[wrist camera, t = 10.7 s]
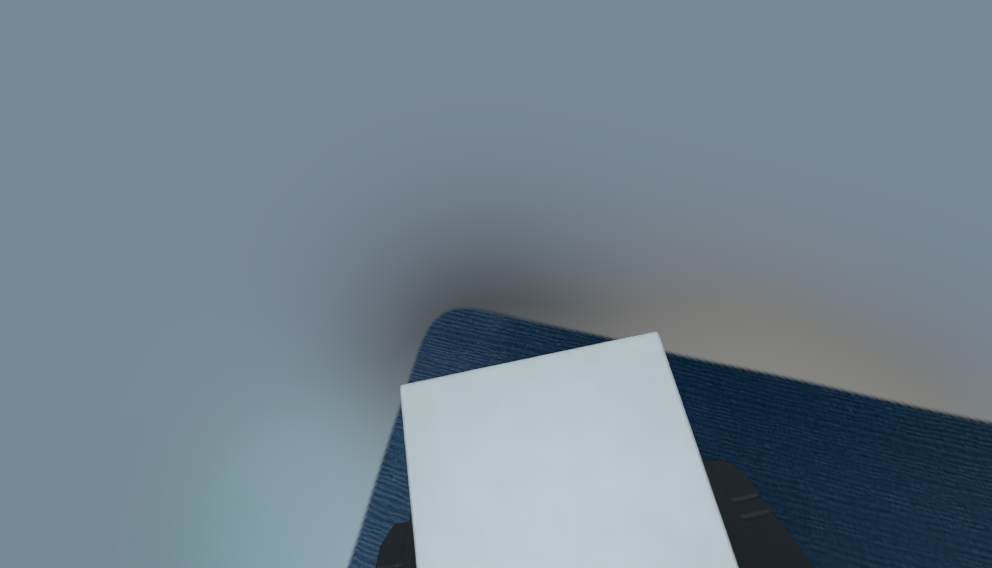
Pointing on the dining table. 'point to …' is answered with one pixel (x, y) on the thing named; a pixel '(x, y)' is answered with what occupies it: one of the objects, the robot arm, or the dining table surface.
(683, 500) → the package
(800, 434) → the dining table surface
